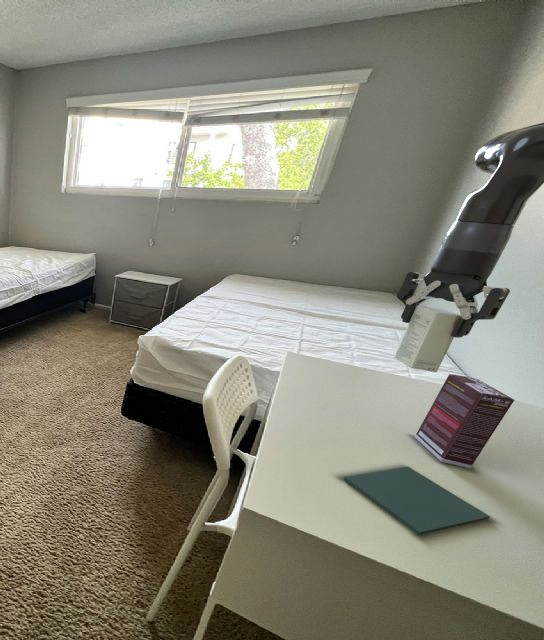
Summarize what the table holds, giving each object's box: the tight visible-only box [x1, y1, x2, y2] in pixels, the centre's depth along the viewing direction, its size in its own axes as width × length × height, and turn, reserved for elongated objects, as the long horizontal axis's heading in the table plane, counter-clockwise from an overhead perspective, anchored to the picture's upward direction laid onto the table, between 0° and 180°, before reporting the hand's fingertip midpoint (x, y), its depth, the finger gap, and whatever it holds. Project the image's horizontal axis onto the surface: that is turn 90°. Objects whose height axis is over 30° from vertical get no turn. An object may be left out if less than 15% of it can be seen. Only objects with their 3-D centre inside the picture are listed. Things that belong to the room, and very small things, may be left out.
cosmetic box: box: [393, 304, 462, 373], centre depth 71 cm, size 6×4×12 cm
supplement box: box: [414, 373, 515, 469], centre depth 69 cm, size 9×5×16 cm, turn 160°
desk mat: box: [343, 466, 491, 536], centre depth 59 cm, size 16×11×1 cm
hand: (430, 329), depth 71 cm, fingers closed on cosmetic box, 7 cm apart
